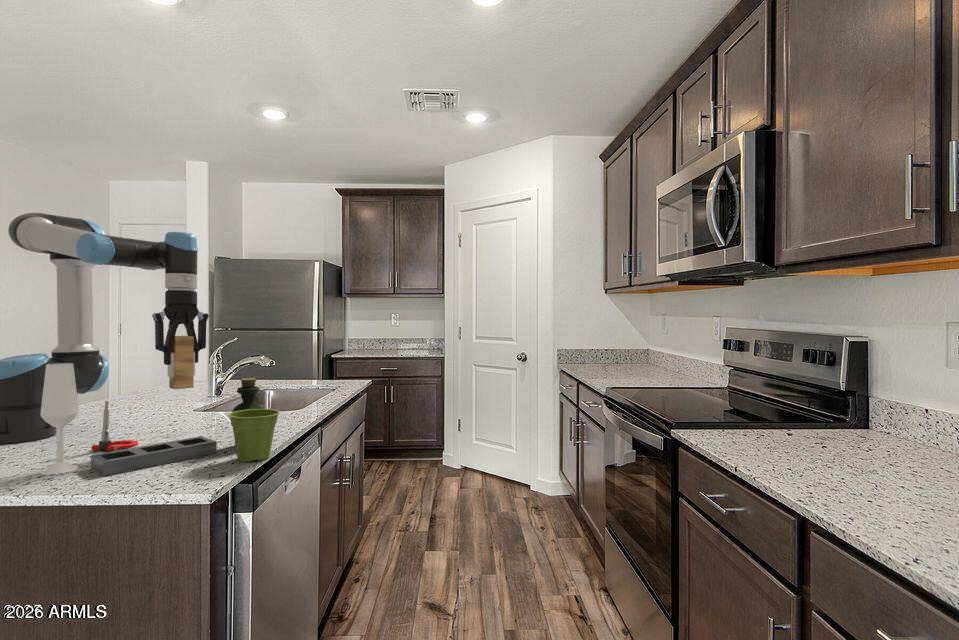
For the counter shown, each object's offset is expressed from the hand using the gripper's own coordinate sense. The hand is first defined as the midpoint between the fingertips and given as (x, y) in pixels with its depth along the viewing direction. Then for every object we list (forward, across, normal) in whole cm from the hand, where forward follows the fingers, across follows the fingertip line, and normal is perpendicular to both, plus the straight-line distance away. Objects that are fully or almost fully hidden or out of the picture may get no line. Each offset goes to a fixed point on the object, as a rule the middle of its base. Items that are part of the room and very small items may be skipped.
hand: (181, 375), depth 138 cm
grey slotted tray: (+19, -10, -12) cm, 24 cm away
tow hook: (+19, -12, +10) cm, 25 cm away
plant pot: (+19, +6, -28) cm, 34 cm away
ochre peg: (+3, 0, 0) cm, 3 cm away
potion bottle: (+19, +11, -15) cm, 26 cm away
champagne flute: (+19, -27, -4) cm, 33 cm away
